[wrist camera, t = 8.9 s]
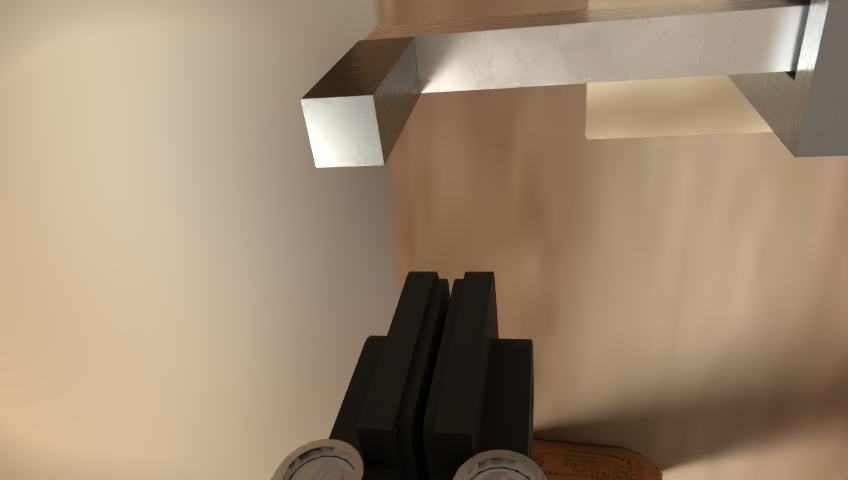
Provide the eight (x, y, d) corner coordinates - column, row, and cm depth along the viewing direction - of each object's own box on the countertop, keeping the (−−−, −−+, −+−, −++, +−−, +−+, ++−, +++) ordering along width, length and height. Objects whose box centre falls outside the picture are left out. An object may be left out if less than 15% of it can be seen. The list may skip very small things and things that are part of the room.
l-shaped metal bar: (858, 48, 25) (1011, 143, 17) (380, 79, 29) (316, 167, 21) (874, -15, 23) (1048, 54, 15) (371, 27, 27) (300, 99, 19)
